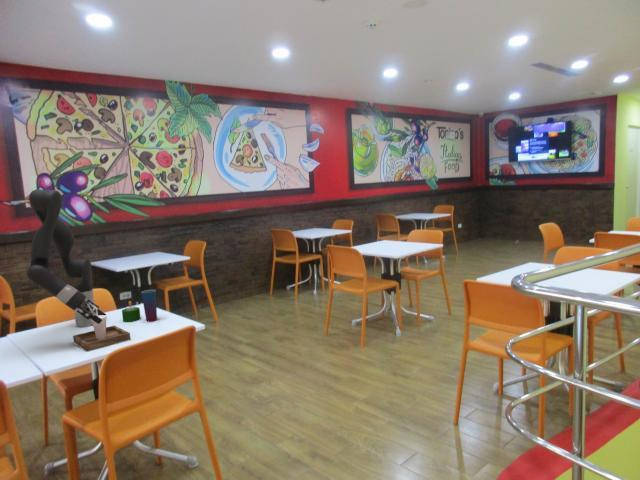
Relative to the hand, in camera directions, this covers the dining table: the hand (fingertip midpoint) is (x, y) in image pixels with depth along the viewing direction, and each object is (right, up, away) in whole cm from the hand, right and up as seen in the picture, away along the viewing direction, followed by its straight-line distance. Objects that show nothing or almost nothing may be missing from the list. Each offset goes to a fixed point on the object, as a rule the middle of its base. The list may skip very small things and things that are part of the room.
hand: (102, 319), depth 200 cm
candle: (0, -6, +32) cm, 32 cm away
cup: (+11, -6, +29) cm, 31 cm away
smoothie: (-1, -9, +1) cm, 9 cm away
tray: (-1, -10, +1) cm, 10 cm away
